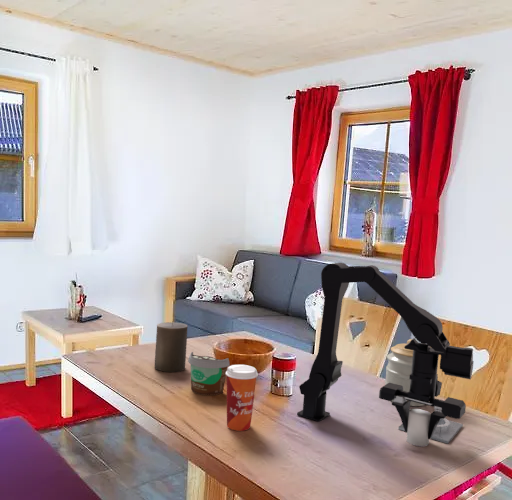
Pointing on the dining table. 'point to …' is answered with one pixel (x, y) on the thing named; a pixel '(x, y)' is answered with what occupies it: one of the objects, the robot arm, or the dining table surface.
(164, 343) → the pillar candle
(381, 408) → the dining table surface
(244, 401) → the paper cup
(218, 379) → the food container
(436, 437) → the plate
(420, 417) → the cylinder
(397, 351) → the jar
